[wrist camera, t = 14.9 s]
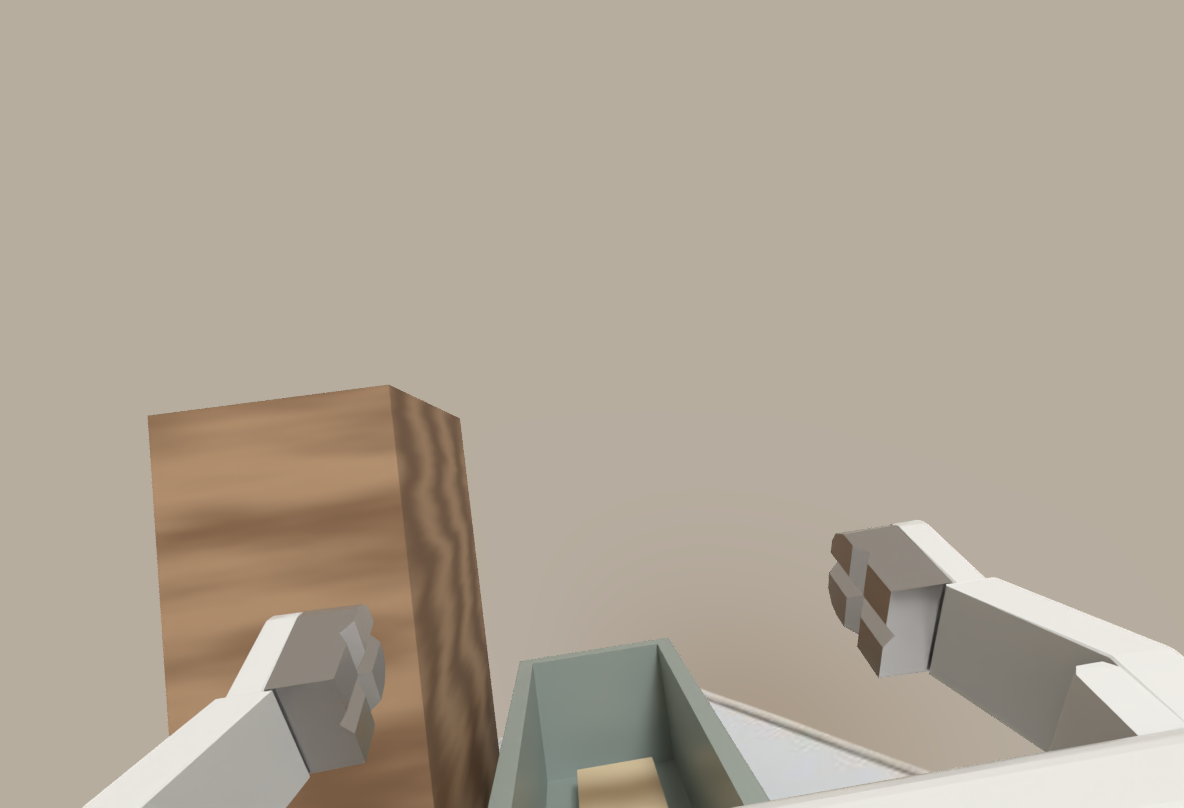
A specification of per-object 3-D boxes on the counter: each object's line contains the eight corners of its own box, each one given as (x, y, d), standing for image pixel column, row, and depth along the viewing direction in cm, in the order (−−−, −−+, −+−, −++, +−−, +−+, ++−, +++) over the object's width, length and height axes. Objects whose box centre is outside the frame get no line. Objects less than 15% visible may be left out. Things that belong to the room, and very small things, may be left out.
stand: (468, 1078, 23) (393, 382, 25) (181, 1136, 22) (135, 416, 25) (510, 804, 41) (464, 418, 44) (354, 832, 41) (317, 438, 43)
